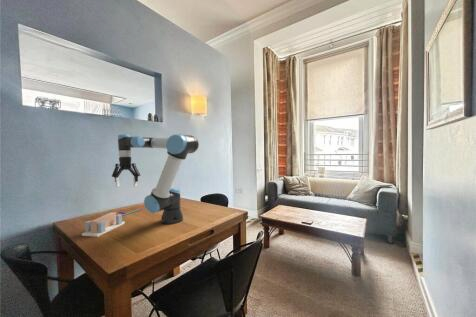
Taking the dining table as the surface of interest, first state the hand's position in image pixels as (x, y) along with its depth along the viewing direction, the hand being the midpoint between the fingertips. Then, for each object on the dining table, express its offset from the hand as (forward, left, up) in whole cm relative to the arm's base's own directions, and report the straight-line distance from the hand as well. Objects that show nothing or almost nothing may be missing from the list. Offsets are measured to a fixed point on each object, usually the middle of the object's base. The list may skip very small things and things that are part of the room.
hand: (126, 186), depth 142 cm
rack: (+6, +14, -25) cm, 29 cm away
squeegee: (+18, -16, -26) cm, 36 cm away
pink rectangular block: (+6, +14, -24) cm, 29 cm away
